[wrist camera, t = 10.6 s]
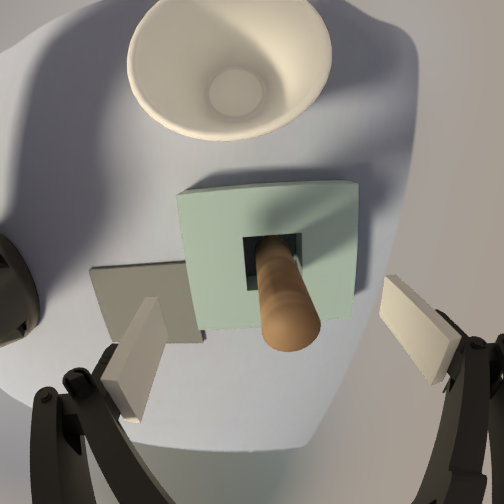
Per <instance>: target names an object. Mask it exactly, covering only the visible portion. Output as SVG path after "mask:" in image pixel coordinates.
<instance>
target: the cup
mask: <svg viewBox="0 0 504 504" xmlns="http://www.w3.org/2000/svg"><path fill="white" fill-rule="evenodd" d="M331 65H332V45H331V41H330V36H329V32H328V30H327V28H326V26H325V24H324V21H323V19H322V17H321V16H320V15H319V13H318V12H317V11H316V10H315V8H314V7H313V6H312V5H311V4H310V3H309V2H308V1H307V0H159V1H158V2H157V3H156V4H155V5H154V6H153V7H152V8H151V9H150V10H149V11H148V12H147V13H146V14H145V16H144V17H143V18H142V20H141V21H140V23H139V24H138V26H137V27H136V30H135V32H134V34H133V36H132V39H131V41H130V45H129V50H128V55H127V75H128V78H129V82H130V86H131V89H132V91H133V93H134V95H135V97H136V98H137V100H138V102H139V104H140V105H141V106H142V107H143V108H144V109H145V111H146V112H147V113H148V114H149V115H150V116H151V117H152V118H153V119H155V120H156V121H158V122H159V123H161V124H162V125H164V126H165V127H166V128H168V129H170V130H173V131H175V132H178V133H180V134H182V135H185V136H188V137H193V138H197V139H202V140H206V141H235V140H243V139H250V138H254V137H257V136H260V135H264V134H267V133H271V132H273V131H275V130H277V129H279V128H281V127H283V126H285V125H287V124H289V123H290V122H292V121H293V120H294V119H296V118H297V117H298V116H300V115H301V114H302V113H304V112H305V111H306V110H307V109H308V108H309V107H310V106H311V104H312V103H313V102H314V101H315V100H316V99H317V98H318V96H319V95H320V93H321V91H322V89H323V87H324V86H325V84H326V82H327V79H328V76H329V72H330V69H331Z"/></svg>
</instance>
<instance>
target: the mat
mask: <svg viewBox="0 0 504 504" xmlns="http://www.w3.org/2000/svg"><path fill="white" fill-rule="evenodd" d="M89 273H90V277H91V280H92V284H93V287H94V290H95V294H96V297H97V300H98V303H99V306H100V309H101V312H102V315H103V318H104V321H105V323H106V326H107V329H108V331H109V334H110V337H111V339H112V342H120V341H121V339H122V337H123V335H124V334H125V332H126V330H127V328H128V326H129V325H130V323H131V321H132V319H133V318H134V316H135V314H136V312H137V311H138V309H139V307H140V306H141V304H142V302H143V300H144V299H145V297H158V300H159V304H160V308H161V312H162V316H163V320H164V323H165V327H166V330H167V334H168V338H167V341H166V343H203V341H204V340H203V335H202V331H201V330H198V326H197V321H196V316H195V311H194V306H193V301H192V295H191V290H190V285H189V279H188V273H187V267H186V262H180V263H166V264H152V265H138V266H123V267H109V268H94V269H89Z"/></svg>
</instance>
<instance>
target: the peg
mask: <svg viewBox="0 0 504 504" xmlns="http://www.w3.org/2000/svg"><path fill="white" fill-rule="evenodd" d="M255 259H256V270H257V281H258V293H259V304H260V316H261V327H262V335H263V338H264V340H265V342H266V343H267V344H268V345H269V346H270V347H272V348H274V349H276V350H279V351H283V352H293V351H297V350H301V349H303V348H305V347H307V346H308V345H310V344H311V343H312V342H313V341H314V340H315V339H316V338H317V336H318V334H319V332H320V327H321V322H320V318H319V316H318V313H317V311H316V309H315V306H314V304H313V302H312V299H311V297H310V295H309V292H308V290H307V288H306V285H305V283H304V281H303V279H302V276H301V274H300V272H299V269H298V267H297V265H296V263H295V260H294V258H293V256H292V254H291V252H290V249H289V247H288V245H287V243H286V241H285V240H284V239H283V238H282V237H280V236H278V235H266V236H264V237H262V238H261V239H260V240H259V241H258V242H257V244H256V247H255Z"/></svg>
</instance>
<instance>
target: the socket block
mask: <svg viewBox="0 0 504 504" xmlns="http://www.w3.org/2000/svg"><path fill="white" fill-rule="evenodd" d="M176 199H177V207H178V215H179V222H180V229H181V236H182V243H183V249H184V255H185V261H186V267H187V273H188V279H189V285H190V290H191V295H192V301H193V306H194V311H195V316H196V321H197V326H198V330H216V329H236V328H251V327H261V316H260V304H259V293H258V281H257V275H253V276H247V270H246V259H245V247H244V237H251V236H264V235H278V234H292V233H296V265H297V267H298V269H299V272H300V274H301V276H302V279H303V281H304V283H305V285H306V288H307V290H308V292H309V295H310V297H311V299H312V302H313V304H314V306H315V309H316V311H317V313H318V316H319V318H320V321H324V320H332V319H340V318H347V317H351V315H352V306H353V297H354V287H355V275H356V261H357V244H358V214H359V183H355V182H351V181H348V180H320V181H294V182H275V183H259V184H246V185H233V186H222V187H212V188H202V189H193V190H185V191H183V192H181V193H179V194H177V195H176Z"/></svg>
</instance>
